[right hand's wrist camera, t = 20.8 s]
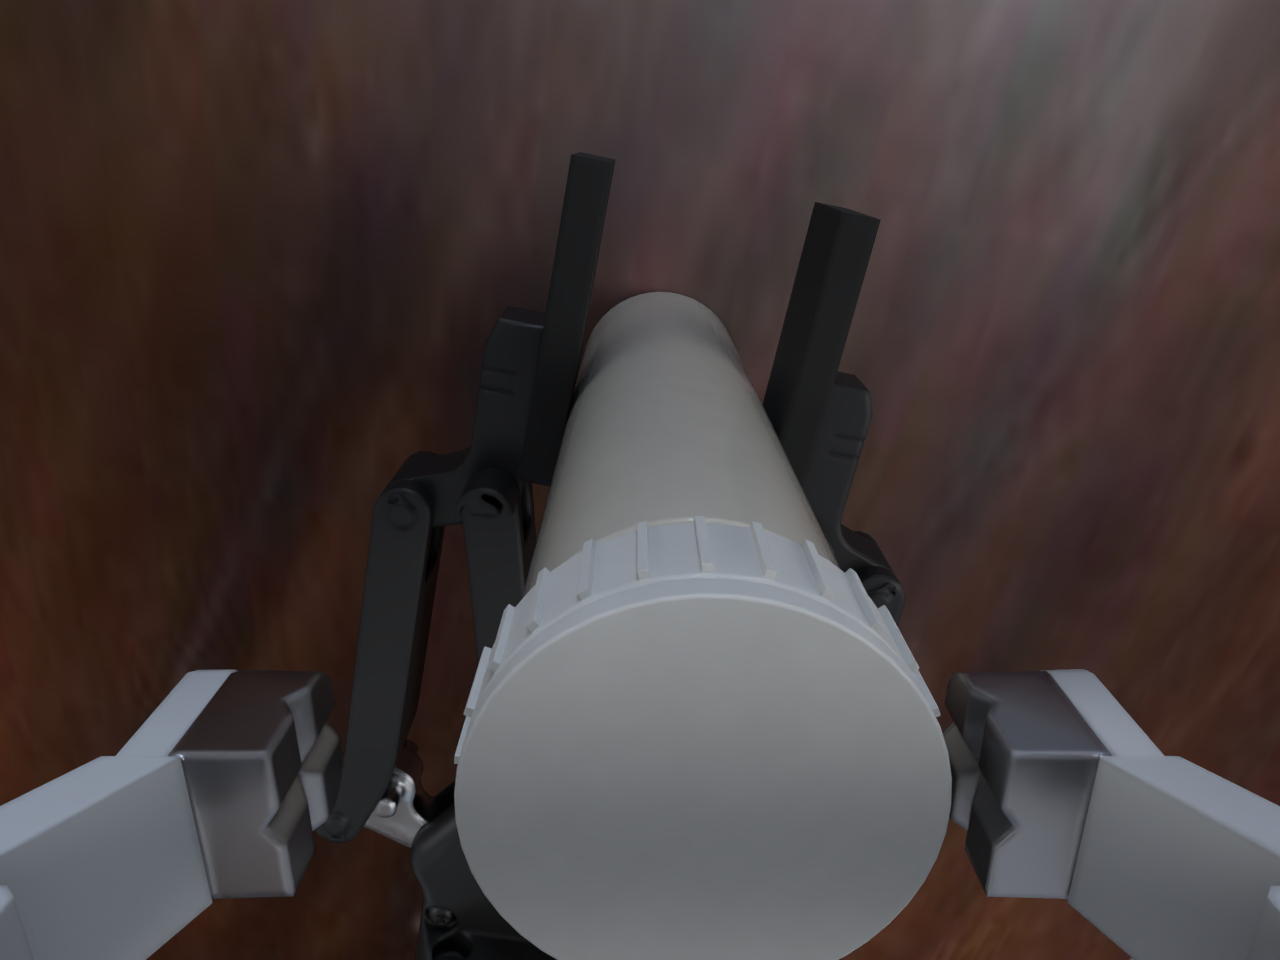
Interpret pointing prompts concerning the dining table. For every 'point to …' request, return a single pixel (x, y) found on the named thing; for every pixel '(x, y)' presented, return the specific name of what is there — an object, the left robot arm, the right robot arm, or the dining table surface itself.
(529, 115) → the dining table surface
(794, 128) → the dining table surface
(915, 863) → the lid
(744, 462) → the jar
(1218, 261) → the dining table surface
